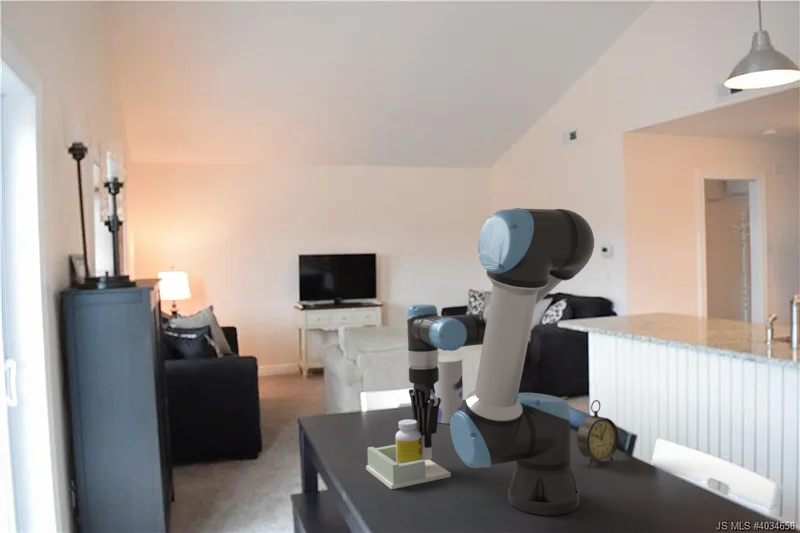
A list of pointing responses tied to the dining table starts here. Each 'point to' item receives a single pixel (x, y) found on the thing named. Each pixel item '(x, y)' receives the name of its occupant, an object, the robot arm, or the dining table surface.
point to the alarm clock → (597, 438)
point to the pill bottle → (408, 442)
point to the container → (449, 387)
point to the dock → (401, 468)
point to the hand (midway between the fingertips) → (425, 458)
